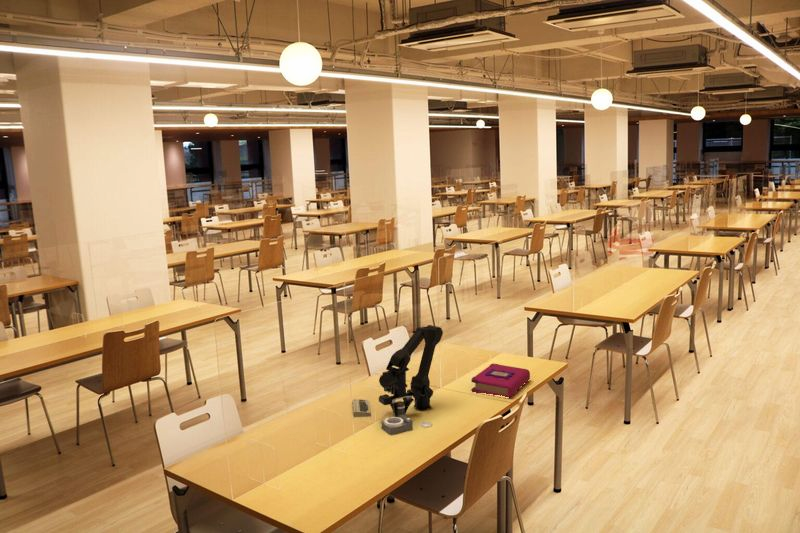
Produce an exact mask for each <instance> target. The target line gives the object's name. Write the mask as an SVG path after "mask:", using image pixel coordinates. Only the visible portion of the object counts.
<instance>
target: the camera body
mask: <svg viewBox="0 0 800 533" xmlns="http://www.w3.org/2000/svg"><path fill="white" fill-rule="evenodd" d="M413 424H414V423H413V419H411V418H410V417H408V416H407V415H406V414H405V415H404V414H402V415H399V417H395V416H390V417H386V418H385V419H384V421H381V429H382V431H384V432H386V433H387V434H388V435H390V436H392V435H397V434H401V433H405V432H409V431H412V430H413V428H414V427H413Z"/></svg>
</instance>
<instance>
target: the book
mask: <svg viewBox="0 0 800 533" xmlns="http://www.w3.org/2000/svg"><path fill="white" fill-rule="evenodd" d="M529 379H531V372H530V370H529V369H527V368H522V367H515V366H511V365H503V364H499V363H491V364H489V366H487V367H485V369H483V370H482V371H481V372H479V373H477V375H475V376H473V377H472V378H471V383H474V387H472V388H471V391H472V392H471V391H470V392H471V393H473V392H476V393H475V394H479V393H486V394H493V395H500V396H501V395H502V396H505V397H510V398H511V397H512V396H514V395H515V394H516V393H517V392H518V391H519V390H520V389H521V388H522V387H521V386H522V385H523V384H524V383H526V382H527V381H528V380H529ZM529 381H530V380H529ZM529 381H528V382H529ZM528 382H527V383H528ZM527 383H526V384H527ZM520 387H521V388H520ZM519 388H520V389H519ZM518 389H519V390H518ZM517 390H518V391H517ZM516 391H517V392H516ZM515 392H516V393H515ZM514 393H515V394H514ZM513 394H514V395H513Z"/></svg>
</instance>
